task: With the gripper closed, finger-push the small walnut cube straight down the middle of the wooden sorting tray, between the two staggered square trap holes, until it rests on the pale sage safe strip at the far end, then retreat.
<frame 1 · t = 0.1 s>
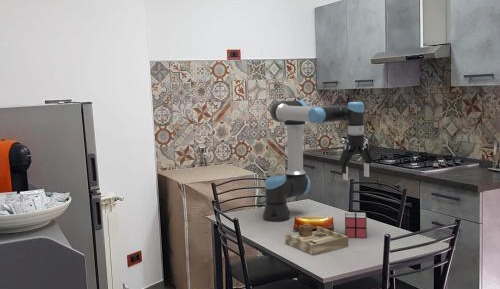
hand: (356, 178, 243), 28 cm above the table, fingers open, 13 cm apart
block: (305, 235, 239), point 2 cm above the table, touching wooden sorting tray
puzzle cube: (355, 235, 246), on the table
wooden sorting tray: (315, 244, 233), on the table
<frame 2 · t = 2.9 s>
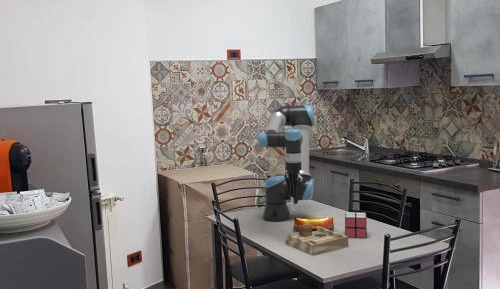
hand: (294, 209, 245), 13 cm above the table, fingers closed
nothing on the table moved.
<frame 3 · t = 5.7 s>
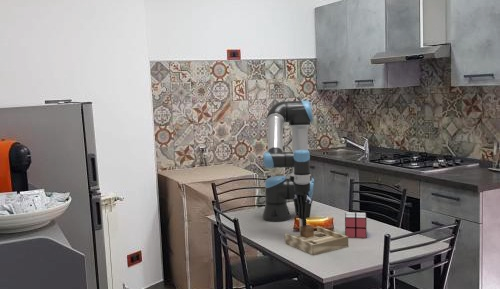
hand: (302, 231, 240), 4 cm above the table, fingers closed
block: (307, 235, 238), point 3 cm above the table, touching wooden sorting tray
everything else where it was.
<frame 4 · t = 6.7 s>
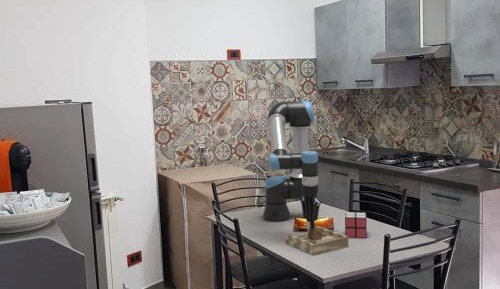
hand: (310, 234, 235), 4 cm above the table, fingers closed
block: (314, 238, 233), point 3 cm above the table, touching gripper
everything else where it was.
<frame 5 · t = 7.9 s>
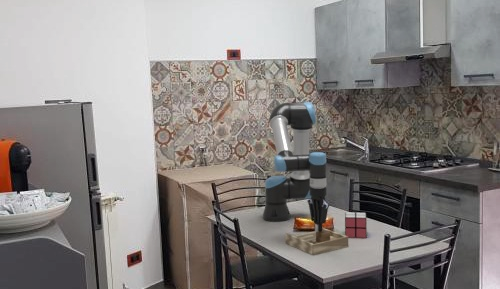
hand: (318, 237, 231), 4 cm above the table, fingers closed
block: (323, 241, 228), point 3 cm above the table, touching gripper
everything else where it was.
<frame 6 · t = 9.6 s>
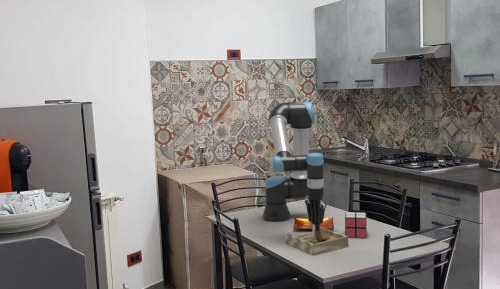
hand: (315, 237, 233), 3 cm above the table, fingers closed
block: (324, 239, 227), point 4 cm above the table, tilted 32°, touching wooden sorting tray
everything else where it was.
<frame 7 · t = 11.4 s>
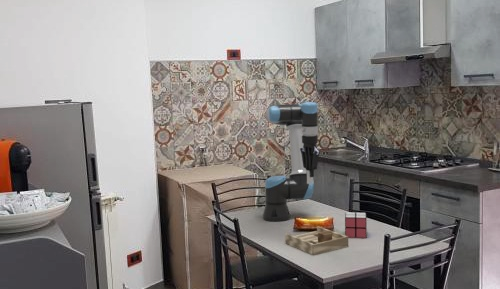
hand: (310, 183, 245), 26 cm above the table, fingers closed
block: (325, 242, 227), point 2 cm above the table, touching wooden sorting tray
everything else where it was.
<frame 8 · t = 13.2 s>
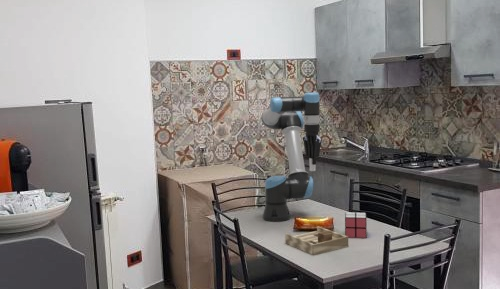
hand: (312, 170, 253), 30 cm above the table, fingers closed
nothing on the table moved.
at the end: block 0.7 cm from the target spot on the wooden sorting tray, point 2.5 cm above the wooden sorting tray's base; block tilted 0° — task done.
